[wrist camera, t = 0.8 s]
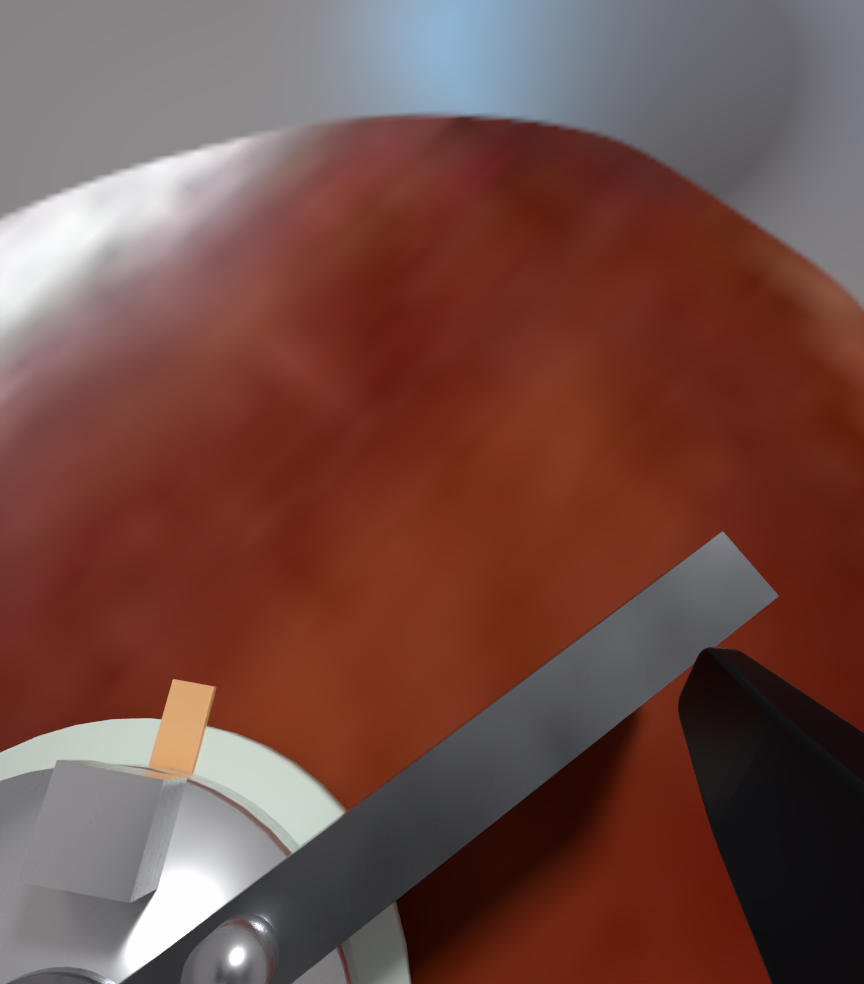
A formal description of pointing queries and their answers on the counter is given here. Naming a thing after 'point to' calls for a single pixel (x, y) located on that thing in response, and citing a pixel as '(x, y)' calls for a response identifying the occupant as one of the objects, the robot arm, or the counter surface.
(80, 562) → the counter surface
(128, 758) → the nut base
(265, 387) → the counter surface
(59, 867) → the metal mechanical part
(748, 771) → the robot arm
